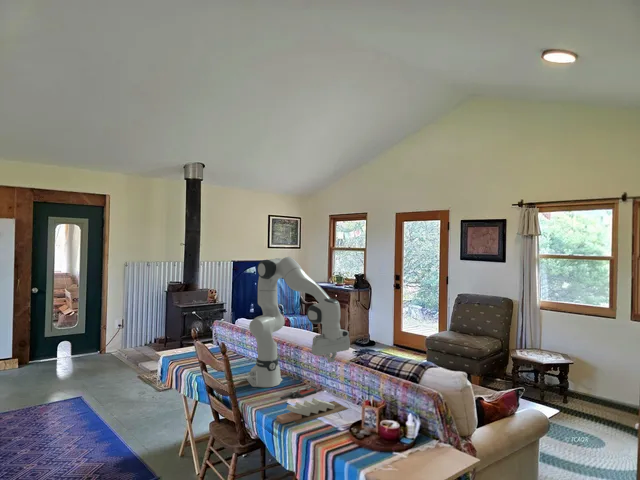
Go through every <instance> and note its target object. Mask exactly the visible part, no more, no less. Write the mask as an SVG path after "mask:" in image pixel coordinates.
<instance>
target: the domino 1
mask: <svg viewBox="0 0 640 480" xmlns="http://www.w3.org/2000/svg"><path fill="white" fill-rule="evenodd" d="M301 418H302V414H298V413H293V412H291V411H288V412H285V413H283V414H282V413H281V414H279V415H276V420H277V422H279V423H281V424H287V423H290V422H294V420H298V419H301Z"/></svg>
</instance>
